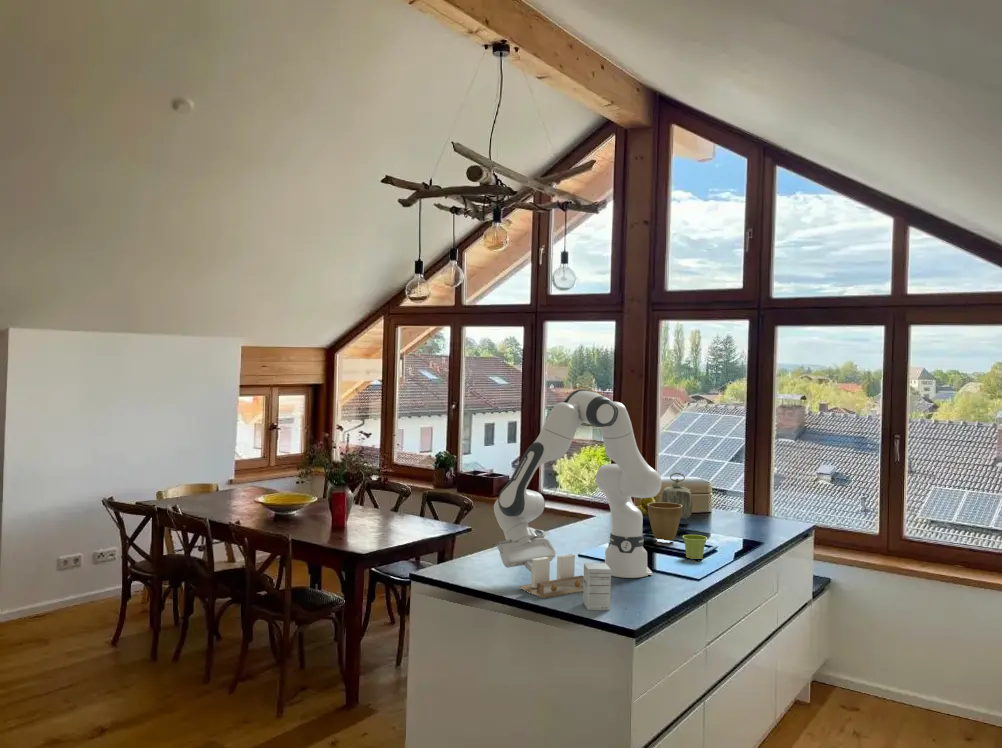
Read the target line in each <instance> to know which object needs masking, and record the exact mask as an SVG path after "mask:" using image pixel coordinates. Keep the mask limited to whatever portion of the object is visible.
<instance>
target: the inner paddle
mask: <svg viewBox="0 0 1002 748" xmlns="http://www.w3.org/2000/svg"><path fill="white" fill-rule="evenodd" d="M575 558H576V555H575V554H572V553H570V554H563V555H558V556H556V559H557V560H556V580H558V579H564V578H570V577H575V568H576V567H575V565H576V564H575V562H576V560H575Z"/></svg>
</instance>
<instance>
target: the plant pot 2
mask: <svg viewBox="0 0 1002 748" xmlns="http://www.w3.org/2000/svg"><path fill="white" fill-rule="evenodd" d="M682 538H683V541H684V548H685V555H686V556H685V557H687V558H690V559H702V560H703V557H704V551H705V546H706V543H707V540H708V537H707V536H704V535H699V534H685V535H684V534H683V535H682ZM687 558H686V559H687ZM690 559H689V560H690Z"/></svg>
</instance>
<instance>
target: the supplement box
mask: <svg viewBox="0 0 1002 748" xmlns="http://www.w3.org/2000/svg"><path fill="white" fill-rule="evenodd" d="M583 576H584V582H583V591H582V603H583V604H584V606H585V609H586V610H587V611H610V610H611V586H612V585H611V584H612V582H611V581H612V575H611V569H610V568H609V567H608V565H607V564H605V562H604V563H602V562H600V563H599V562H598V563H597V562H596V563H594V562H593V563H591V562H590V563H589V562H587V563H586V562H585V563H583Z"/></svg>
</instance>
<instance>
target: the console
mask: <svg viewBox="0 0 1002 748" xmlns="http://www.w3.org/2000/svg"><path fill="white" fill-rule="evenodd" d="M583 582H584V575H577V576H575V575H574V577H570V578H564V579H558V580H557V579H552V580H549V581H546V582H540V583H537V588H533V587H531V583H529V584H523V585H519V590H520V589H523V590H525V591H528V592H530V593H532V594H531V595H533V594H535V595H537V596H536V597H538V596H539V597H538V598H540V597H542V598H541V599H546V598H545V597H548V598H552V597H551V596H553V597H558V596H557V595H559V596H562V595H561V594H564V595H569V594H573V593H574V592H575V593H579V592H583ZM525 591H524V592H525ZM530 593H529V594H530ZM568 593H569V594H568ZM535 595H534V596H535Z"/></svg>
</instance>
